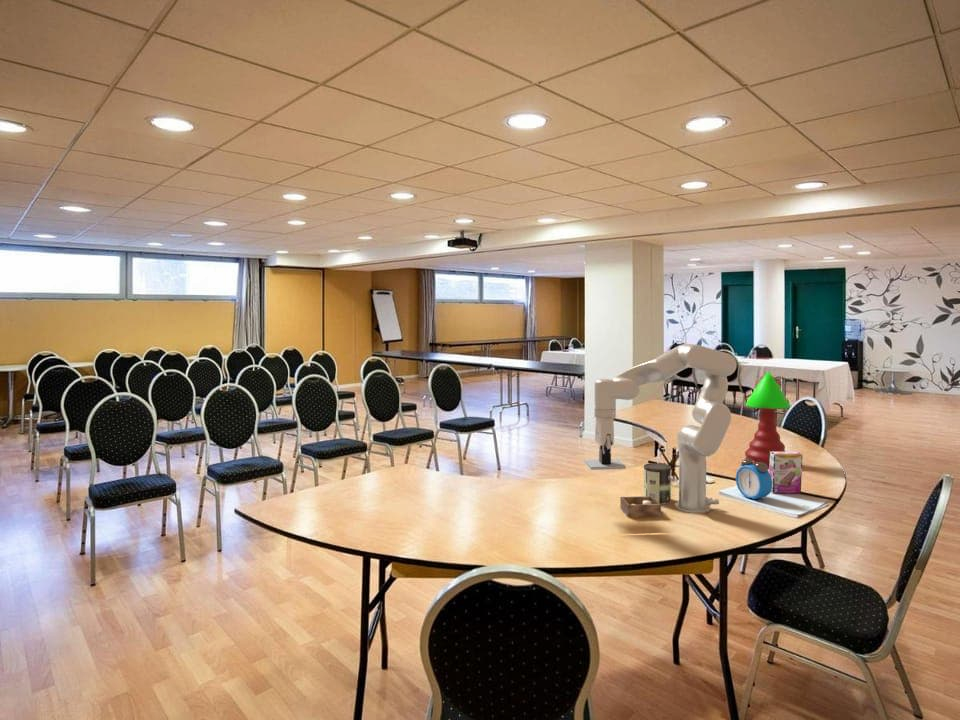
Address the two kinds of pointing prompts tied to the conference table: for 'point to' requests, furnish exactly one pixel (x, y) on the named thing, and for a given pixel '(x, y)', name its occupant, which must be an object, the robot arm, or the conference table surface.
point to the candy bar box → (786, 472)
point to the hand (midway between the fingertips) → (604, 462)
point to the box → (640, 506)
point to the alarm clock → (753, 479)
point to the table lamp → (766, 420)
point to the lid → (599, 466)
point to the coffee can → (658, 482)
